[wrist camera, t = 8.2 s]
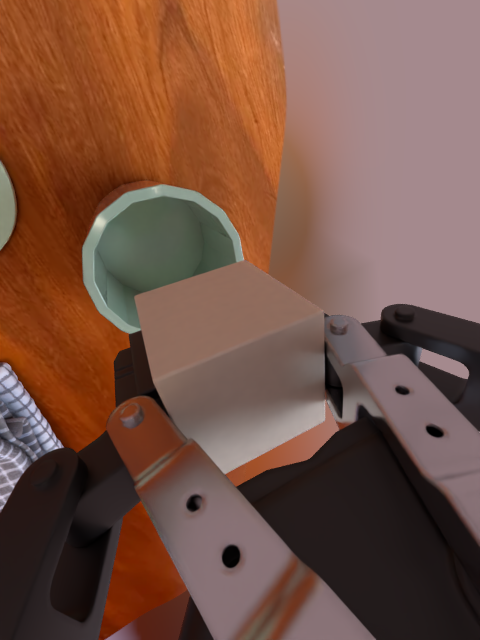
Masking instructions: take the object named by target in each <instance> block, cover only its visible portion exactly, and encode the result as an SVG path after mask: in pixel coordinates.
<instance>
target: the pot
mask: <svg viewBox="0 0 480 640" xmlns="http://www.w3.org/2000/svg"><path fill="white" fill-rule="evenodd" d="M243 260H244V259H243V253H242V247H241V242H240V237H239V234H238V233H237V231H236V229H235V228H234V226H233V225H232V223H231V221H230V220H229V218H228V217H227V215H226V213H225V212H224V211H223V209H221V208H220V207H218V206H217V205H216V204H214V203H213V202H211V201H210V200H209V199H207V198H206V197H204V196H203V195H202V194H200V193H199V192H197V191H194V190H190V189H186V188H182V187H177V186H173V185H169V184H164V183H159V182H154V181H150V180H142V181H137V182H131V183H128V184H124V185H120V186H118V187H117V188H116V189H115V190H113V191H112V192H110V193H109V194H108V195H107V196H106V197H105V198H103V199H102V200H101V201H100V202H99V204H98V206H97V208H96V210H95V212H94V215H93V217H92V219H91V221H90V224H89V227H88V230H87V233H86V236H85V240H84V243H83V246H82V268H83V282H84V285H85V287H86V289H87V291H88V293H89V295H90V297H91V299H92V301H93V302H94V304H95V306H96V308H97V310H98V311H99V313H101V314H102V315H103V316H104V317H105V318H107V319H108V320H109V321H110V322H112V323H113V324H114V325H115V326H117V327H118V328H119V329H120V330H121V331H124V332H126V333H129V334H131V333H134V332H137V331H140V330H141V326H140V322H139V317H138V313H137V308H136V304H135V299H134V296H136V295H138V294H141V293H144V292H147V291H151V290H154V289H157V288H160V287H163V286H166V285H169V284H172V283H175V282H178V281H181V280H184V279H187V278H191V277H194V276H197V275H200V274H203V273H206V272H209V271H212V270H215V269H218V268H221V267H224V266H227V265H230V264H234V263H237V262H240V261H243Z"/></svg>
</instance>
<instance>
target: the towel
mask: <svg viewBox="0 0 480 640" xmlns="http://www.w3.org/2000/svg"><path fill="white" fill-rule="evenodd" d="M58 448H64V446H63V445H62V444H61V442H60V441H59V440H58V439H57V438H56V436H55V434H54V432H53V431H52V430H51V427H50V425H49V424H48V422H47V420H46V419H45V418H44V417H43V415H42V414H41V413H40V410H39V409H38V408H37V406H36V405H35V403H34V400H33V399H32V398H31V397H30V395H29V393H28V392H27V391H26V389H24V388H23V385H22V384H21V382H20V381H18V378H17V376H16V374H15V373H14V372H13V371H12V370H11V366H10V365H9V364H8V363H5V362H3V363H0V513H1V511H2V509H3V507H4V505H5V503H6V502H7V500H8V498H9V496H10V494H11V492H12V491H13V489H14V487H15V485H16V483H17V481H18V480H19V478H20V477H21V475H22V474H23V473H24V471H25V470H26V469H27V468H28V467H29V466H30V465H31V464H32V463H33V462H34V461H36V460H37V459H38V458H40V457H41V456H43V455H44V454H46V453H48V452H50V451H52V450H55V449H58Z"/></svg>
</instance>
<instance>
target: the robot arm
mask: <svg viewBox="0 0 480 640" xmlns="http://www.w3.org/2000/svg"><path fill="white" fill-rule="evenodd" d="M129 340H130V348H128V349H125V350H122V351H119V353H118V355H117V357H116V359H115V361H114V371H115V373H114V374H115V397H116V408H115V409H114V410H113V411H112V413H111V414H110V416H109V418H108V420H107V423H106V431H105V432H104V433H103V434H102V435H101V436H100V437H99V438H97V439H96V440H95V441H93V442H92V443H91V444H89V445H88V446H86V447H85V448H83V449H82V450H81V451H79V452H78V453H76V452H75V451H74V450H73V449H71V448H58V449H55V450H52V451H50V452H48V453H46V454H44V455H43V456H41V457H40V458H38V459H37V460H36V461H34V462H33V463H32V464H31V465H30V466H29V467H28V468H27V469H26V470H25V471H24V473H23V474H22V475H21V477H20V478H19V480H18V481H17V483H16V485H15V487H14V489H13V491H12V492H11V494H10V496H9V498H8V500H7V502H6V503H5V505H4V507H3V509H2V511H1V513H0V640H98V638H99V633H100V628H101V623H102V618H103V613H104V608H105V603H106V599H107V594H108V589H109V584H110V579H111V574H112V569H113V564H114V559H115V555H116V550H117V545H118V540H119V535H120V530H121V525H122V520H123V516H124V515H125V514H126V513H127V512H129V511H130V510H131V509H132V508H133V507H134V506H135V505H136V504H137V503H139V502H140V501H141V502H142V503H143V505H144V507H145V509H146V511H147V513H148V515H149V517H150V519H151V521H152V522H153V524H154V526H155V528H156V530H157V532H158V534H159V536H160V538H161V540H162V542H163V543H164V545H165V547H166V549H167V551H168V553H169V555H170V557H171V559H172V561H173V562H174V564H175V566H176V568H177V570H178V572H179V574H180V576H181V578H182V580H183V581H184V583H185V585H186V587H187V589H188V591H189V593H190V597H189V602H188V605H187V609H186V613H185V617H184V620H183V624H182V628H181V632H180V636H179V639H178V640H480V433H479V432H480V324H479V323H476V322H472V321H468V320H465V319H461V318H457V317H454V316H450V315H446V314H442V313H439V312H435V311H431V310H428V309H424V308H420V307H416V306H413V305H407V304H395V305H390V306H387V307H385V308H384V309H383V310H382V313H381V320H379V321H373V322H367V323H361V324H360V323H359V322H358V321H357V320H356V319H354V318H352V317H349V316H344V315H332V316H328V315H327V314H325V313H324V349H325V399H326V401H327V403H328V405H329V408H330V410H331V412H332V414H333V416H334V418H335V421H336V423H337V425H338V427H339V431H337V432H336V433H335V434H334V435H333V436H332V437H331V438H330V439H329V440H328V441H327V442H326V443H325V444H324V445H323V446H322V447H321V448H320V449H319V450H318V451H317V452H316V453H315V454H314V455H313V456H312V457H311V458H310V459H308V460H306V461H303V462H299V463H294V464H290V465H286V466H282V467H278V468H274V469H270V470H266V471H265V472H263V473H261V474H259V475H257V476H255V477H253V478H252V479H250V480H248V481H246V482H244V483H242V484H241V485H239V486H237V487H235V486H234V484H233V483H232V482H231V481H230V480H229V479H228V478H227V476H226V475H225V474H224V473H223V472H222V471H221V470H220V468H219V467H218V466H217V465H216V464H215V463H214V462H213V460H212V459H211V458H210V457H209V456H208V455H207V454H206V452H205V451H204V450H203V449H202V448H201V447H200V446H199V444H198V443H197V442H196V441H195V440H194V439H192V438H189V439H187V438H186V437H185V436H184V434H183V433H182V432H181V431H180V430H179V429H178V427H177V426H176V425H175V424H174V423H173V421H172V420H171V419H170V417H169V414H168V412H167V410H166V408H165V406H164V404H163V402H162V400H161V398H160V396H159V394H158V391H157V389H156V387H155V385H154V383H153V380H152V376H151V371H150V367H149V362H148V358H147V353H146V349H145V344H144V340H143V335H142V331H141V330H140V331H137V332H134V333H131V334H129ZM422 348H423V349H426V350H429V351H431V352H434V353H437V354H440V355H443V356H446V357H448V358H451V359H453V360H456V361H459V362H461V363H462V364H464V365H465V366H466V367H467V369H468V370H469V377H468V379H463V378H460V377H457V376H455V375H453V374H450V373H448V372H445V371H443V370H440V369H437V368H435V367H432V366H430V365H427V364H425V363H422V362H420V361H419V360H420V356H421V352H422ZM478 431H479V432H478Z"/></svg>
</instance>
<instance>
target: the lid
mask: <svg viewBox="0 0 480 640" xmlns="http://www.w3.org/2000/svg"><path fill="white" fill-rule="evenodd" d="M16 217H17V201H16V196H15V191H14V188H13V185H12V182H11V179H10V177H9V175H8V172H7V170H6V168H5V166H4V165H3V163H2V161H1V160H0V250H1V249H2V248H3V247H4V246H5V245H6V243H7V242H8V241H9V239H10V237H11V235H12V233H13V231H14V227H15V224H16Z"/></svg>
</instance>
